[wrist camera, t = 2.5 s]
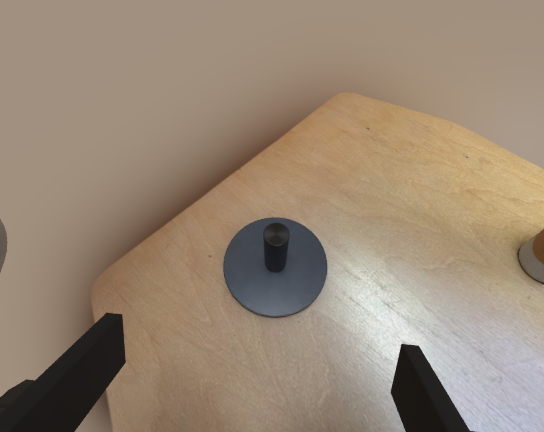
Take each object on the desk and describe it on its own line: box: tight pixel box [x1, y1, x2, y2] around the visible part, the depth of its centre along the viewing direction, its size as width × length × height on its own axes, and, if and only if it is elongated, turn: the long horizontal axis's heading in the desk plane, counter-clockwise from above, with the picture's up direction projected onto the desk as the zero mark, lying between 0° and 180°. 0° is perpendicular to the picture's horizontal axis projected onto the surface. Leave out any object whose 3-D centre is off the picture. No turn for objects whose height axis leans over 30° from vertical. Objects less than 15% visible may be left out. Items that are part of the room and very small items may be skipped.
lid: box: [224, 218, 327, 317], centre depth 35 cm, size 14×14×10 cm
